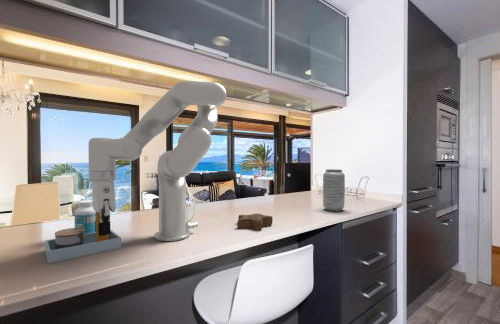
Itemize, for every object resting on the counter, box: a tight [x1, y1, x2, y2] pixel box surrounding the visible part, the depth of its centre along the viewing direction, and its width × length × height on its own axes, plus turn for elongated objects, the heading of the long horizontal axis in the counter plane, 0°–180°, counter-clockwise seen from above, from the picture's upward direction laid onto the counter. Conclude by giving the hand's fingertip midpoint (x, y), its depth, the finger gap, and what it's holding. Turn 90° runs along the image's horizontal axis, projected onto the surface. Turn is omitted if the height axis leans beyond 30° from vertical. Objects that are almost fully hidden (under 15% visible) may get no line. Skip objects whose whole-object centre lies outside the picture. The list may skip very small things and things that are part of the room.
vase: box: [322, 168, 346, 212], centre depth 143 cm, size 12×12×23 cm
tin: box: [54, 227, 84, 249], centre depth 75 cm, size 7×7×6 cm
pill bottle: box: [74, 199, 96, 234], centre depth 89 cm, size 8×7×14 cm
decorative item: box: [236, 213, 274, 231], centre depth 108 cm, size 16×6×15 cm
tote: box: [44, 229, 122, 264], centre depth 78 cm, size 18×12×4 cm, turn 132°
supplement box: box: [96, 211, 108, 242], centre depth 81 cm, size 3×3×10 cm
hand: (102, 232), depth 81 cm, fingers closed on supplement box, 4 cm apart
